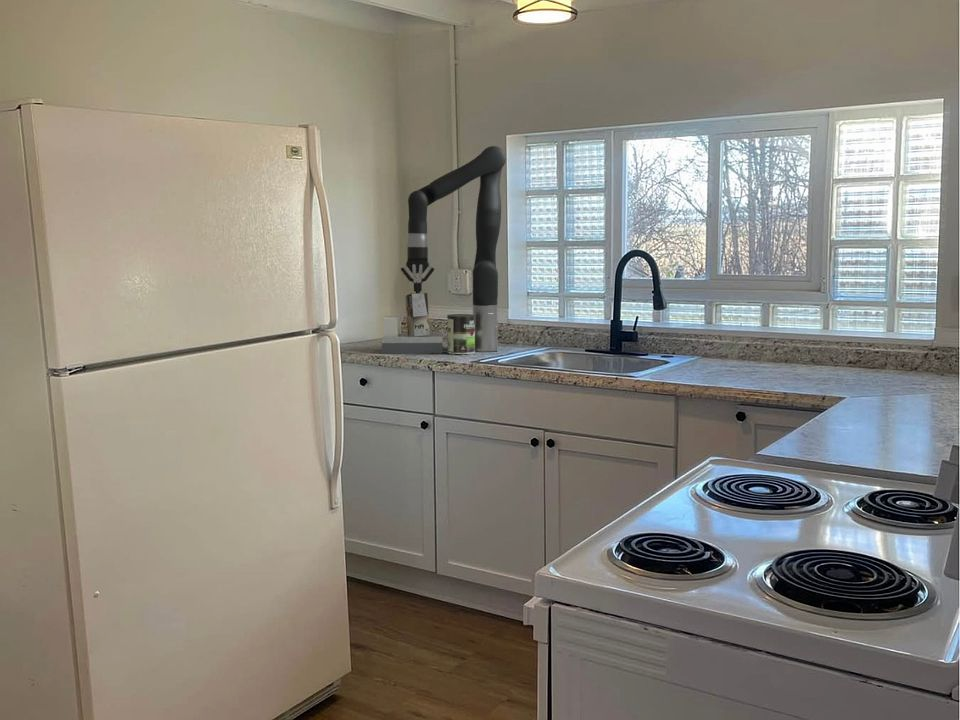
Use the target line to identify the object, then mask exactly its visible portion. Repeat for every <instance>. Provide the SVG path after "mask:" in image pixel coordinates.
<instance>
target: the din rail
mask: <svg viewBox="0 0 960 720" xmlns="http://www.w3.org/2000/svg"><path fill="white" fill-rule="evenodd" d="M442 340H443V341H444V339H443V332H430V336H426V337H408V332H407V333H406V332H405V333H404V332H399V337H384V336H382V337H381V344H382V343H442Z"/></svg>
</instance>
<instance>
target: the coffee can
mask: <svg viewBox="0 0 960 720" xmlns="http://www.w3.org/2000/svg"><path fill="white" fill-rule="evenodd" d="M446 317H447V354H448V353H449V354H448V355H455V354H462V355H461V356H464V355H465V354H468V355H475V353H476V351H475V315H473V314H468V313H466V314H465V313H456V314H454V313H453V314H447V315H446Z"/></svg>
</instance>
